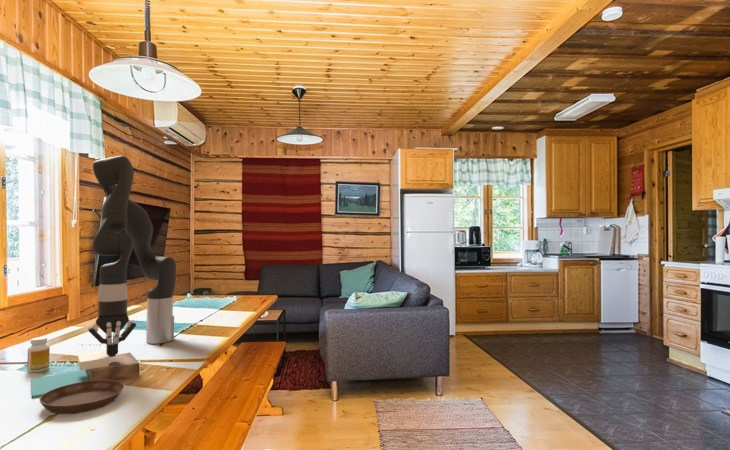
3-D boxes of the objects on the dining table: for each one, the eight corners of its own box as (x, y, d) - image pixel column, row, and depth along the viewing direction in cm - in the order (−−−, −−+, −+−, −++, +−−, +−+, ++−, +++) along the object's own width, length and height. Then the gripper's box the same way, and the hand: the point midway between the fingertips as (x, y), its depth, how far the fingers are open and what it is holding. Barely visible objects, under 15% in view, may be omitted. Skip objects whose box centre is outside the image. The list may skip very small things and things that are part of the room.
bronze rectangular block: (129, 364, 135) (130, 352, 135) (139, 376, 124) (139, 363, 125) (85, 372, 128) (85, 359, 128) (91, 385, 117) (91, 371, 117)
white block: (105, 358, 129) (105, 350, 129) (108, 366, 122) (108, 357, 122) (77, 362, 125) (77, 354, 125) (79, 370, 117) (79, 362, 117)
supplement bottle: (53, 368, 132) (54, 337, 132) (35, 373, 127) (35, 341, 127) (41, 366, 133) (42, 335, 134) (23, 371, 128) (23, 339, 128)
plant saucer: (108, 385, 118) (108, 374, 118) (135, 401, 107) (135, 389, 107) (30, 405, 104) (30, 392, 105) (51, 426, 93) (51, 412, 93)
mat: (84, 371, 128) (85, 369, 128) (91, 386, 116) (91, 384, 116) (30, 381, 120) (30, 378, 120) (31, 398, 108) (32, 395, 108)
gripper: (134, 295, 133) (134, 349, 133) (85, 299, 125) (84, 357, 125) (140, 297, 128) (139, 355, 127) (88, 302, 119) (87, 363, 119)
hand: (112, 356), depth 126 cm, fingers closed
